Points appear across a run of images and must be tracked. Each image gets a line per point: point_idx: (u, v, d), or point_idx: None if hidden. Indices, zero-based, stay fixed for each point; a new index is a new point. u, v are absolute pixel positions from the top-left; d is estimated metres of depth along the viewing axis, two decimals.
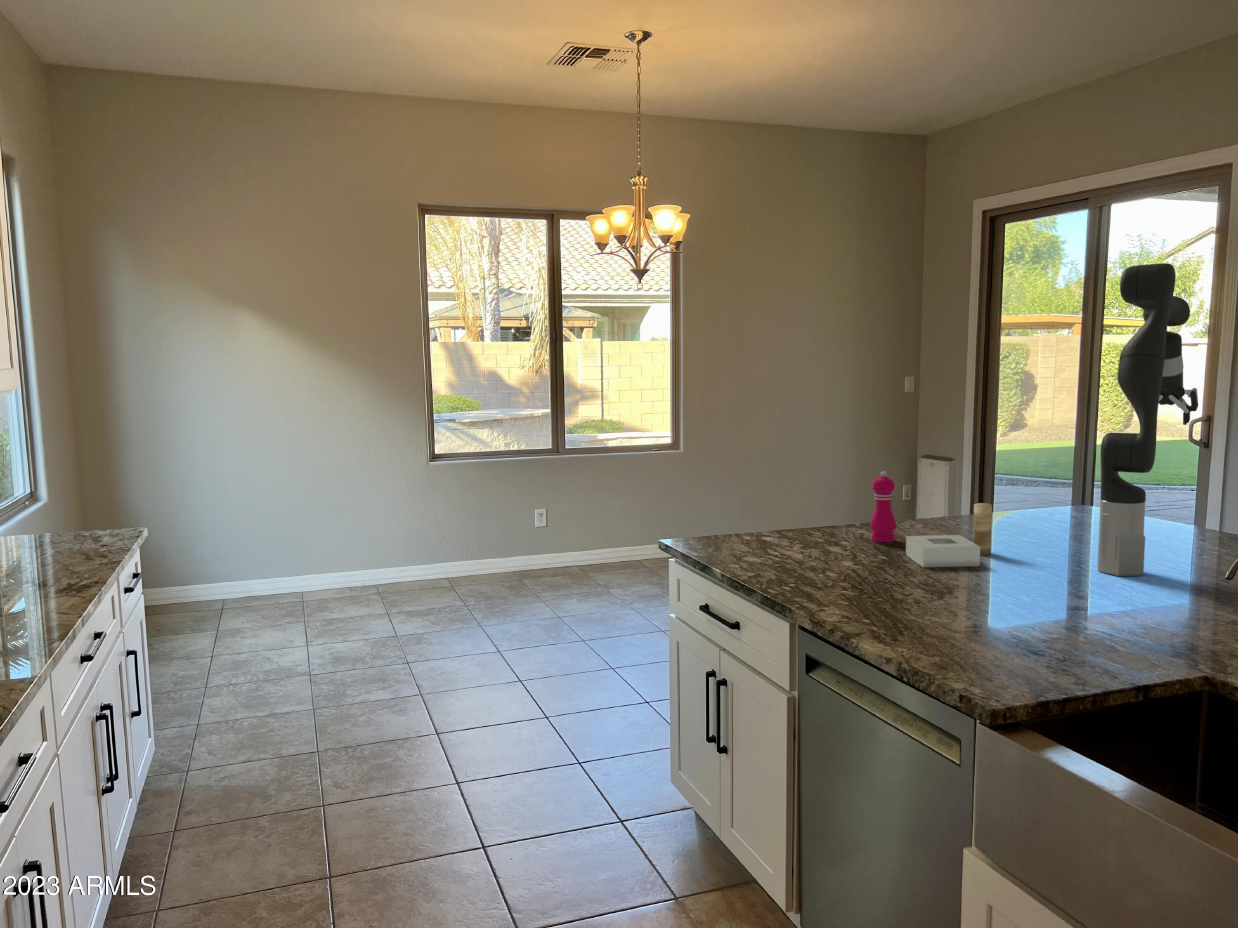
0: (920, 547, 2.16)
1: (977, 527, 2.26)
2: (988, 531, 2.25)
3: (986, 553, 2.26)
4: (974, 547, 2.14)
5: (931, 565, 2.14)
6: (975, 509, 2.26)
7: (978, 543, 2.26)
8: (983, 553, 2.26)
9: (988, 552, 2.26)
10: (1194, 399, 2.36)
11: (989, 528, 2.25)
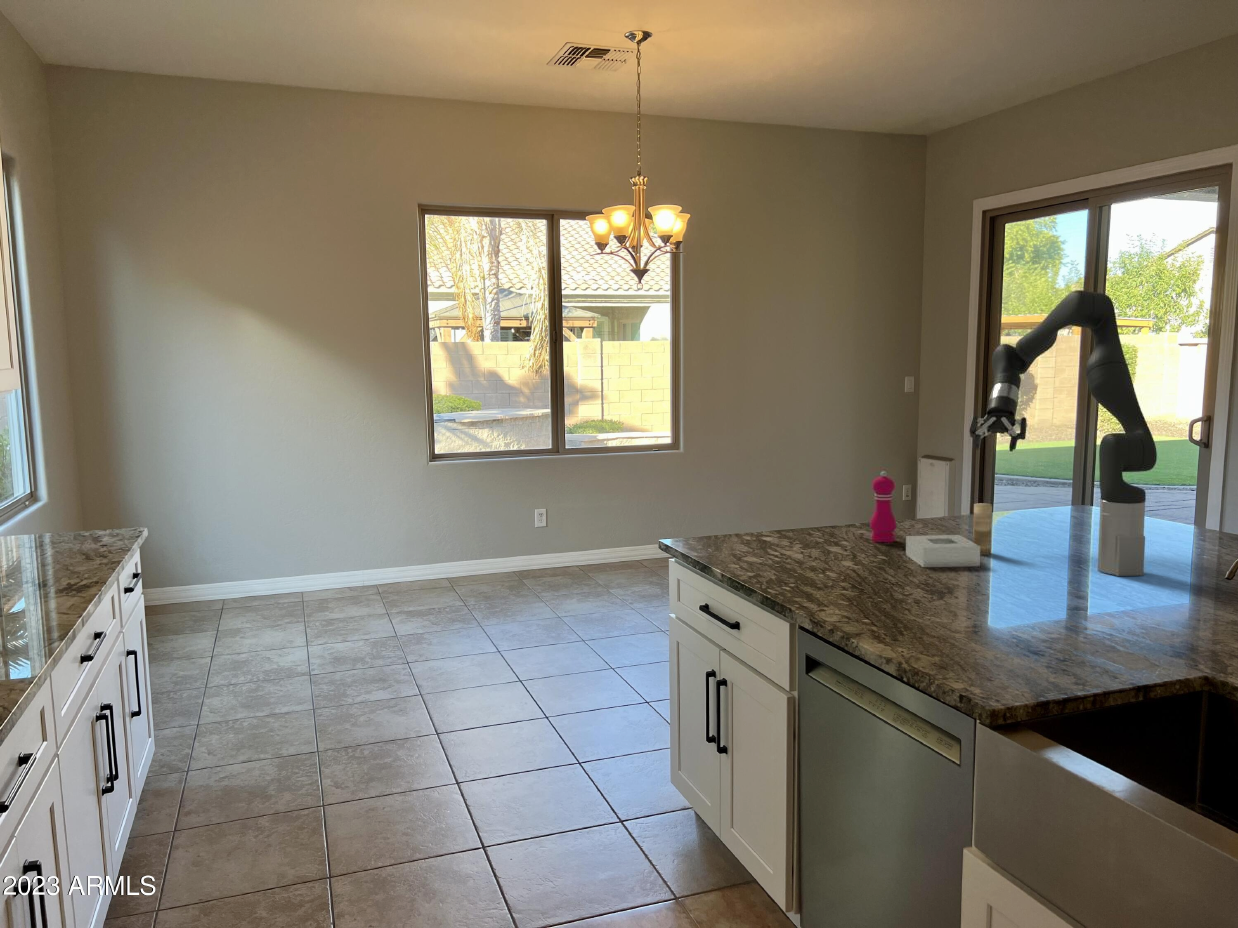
0: (920, 547, 2.16)
1: (977, 527, 2.26)
2: (988, 531, 2.25)
3: (986, 553, 2.26)
4: (974, 547, 2.14)
5: (931, 565, 2.14)
6: (975, 509, 2.26)
7: (978, 543, 2.26)
8: (983, 553, 2.26)
9: (988, 552, 2.26)
10: (1024, 424, 2.35)
11: (989, 528, 2.25)
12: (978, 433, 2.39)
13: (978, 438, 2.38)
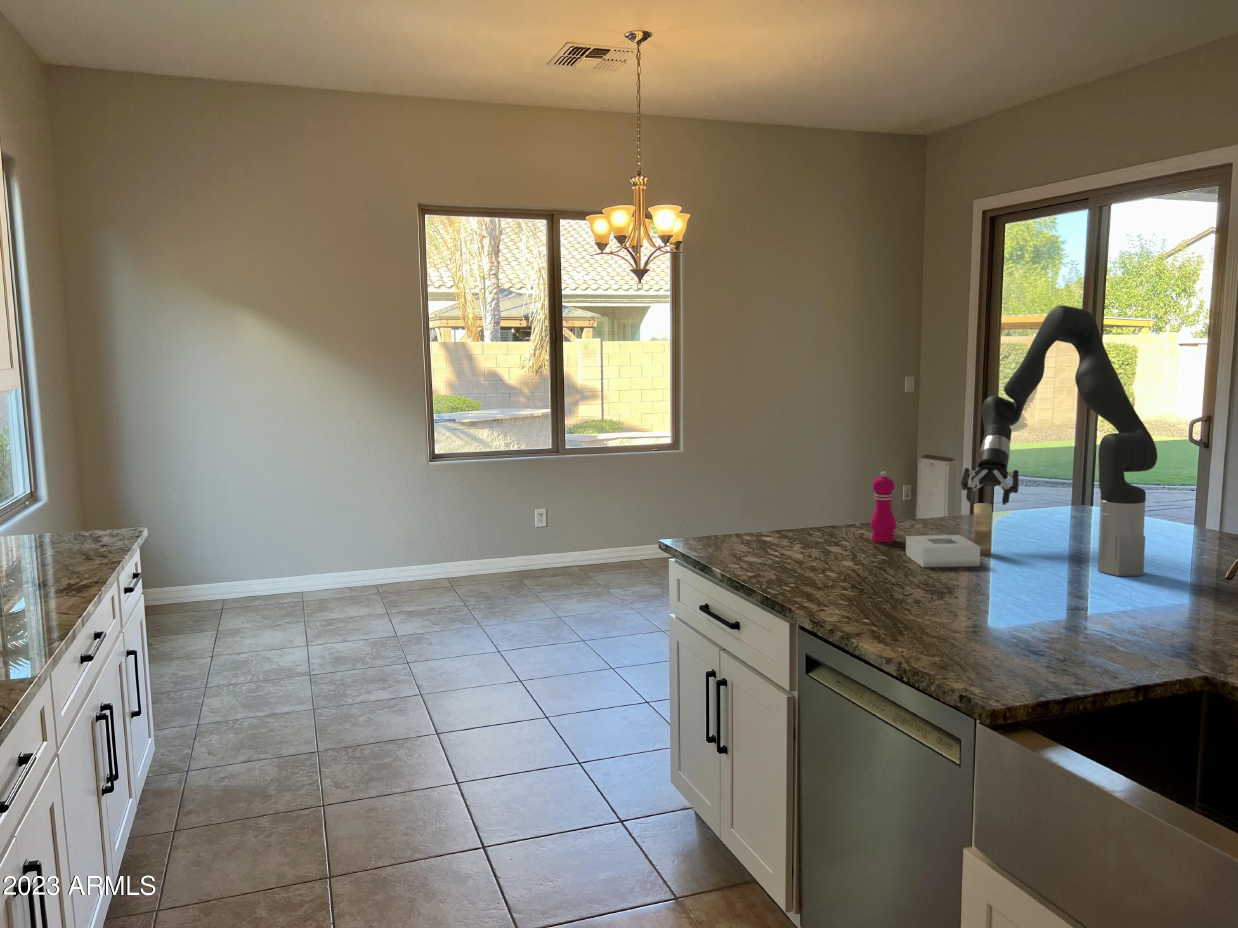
0: (920, 547, 2.16)
1: (977, 527, 2.26)
2: (988, 531, 2.25)
3: (986, 553, 2.26)
4: (974, 547, 2.14)
5: (931, 565, 2.14)
6: (975, 509, 2.26)
7: (978, 543, 2.26)
8: (983, 553, 2.26)
9: (988, 552, 2.26)
10: (1016, 477, 2.31)
11: (989, 528, 2.25)
12: (970, 486, 2.35)
13: (970, 491, 2.34)
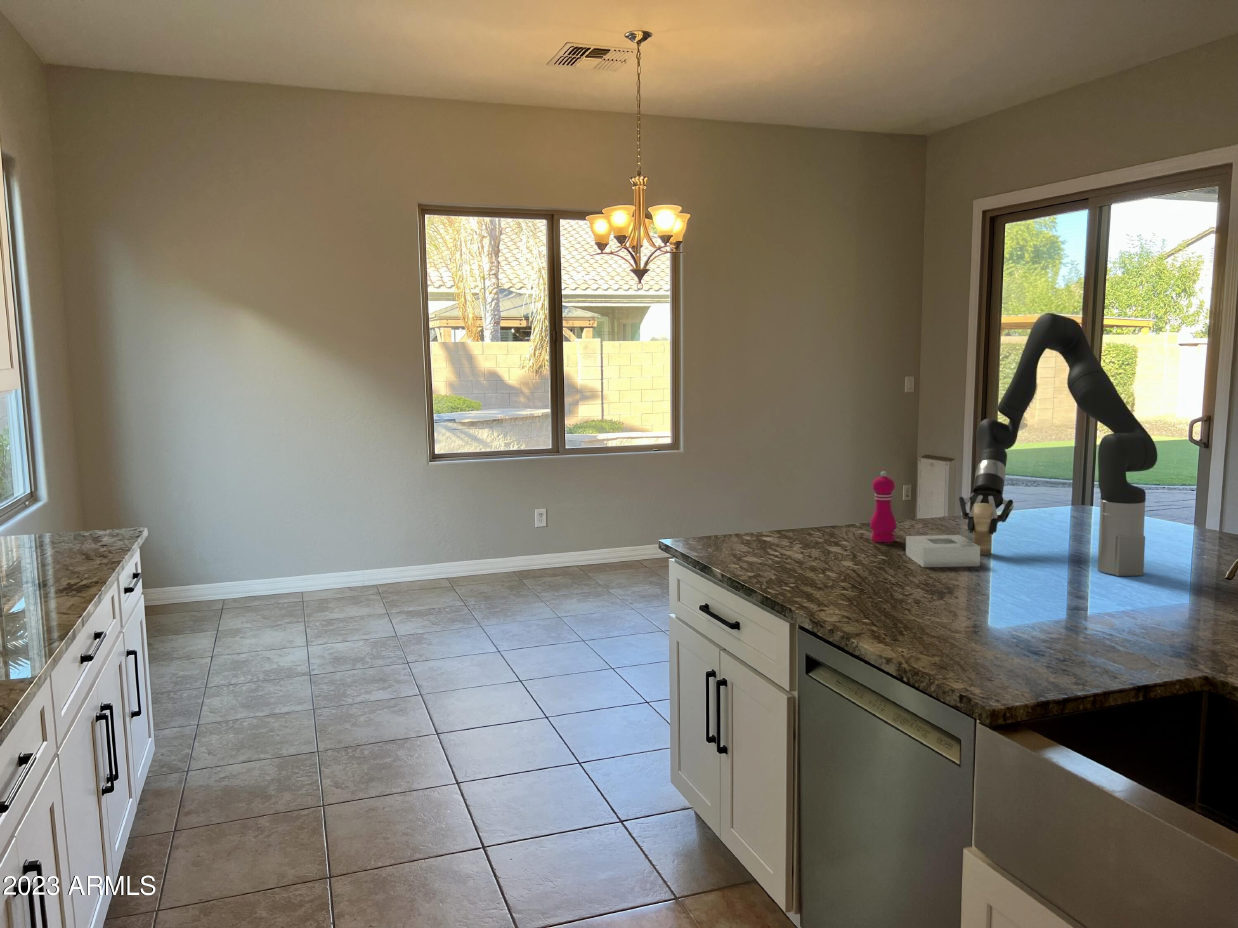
0: (920, 547, 2.16)
1: (977, 527, 2.26)
2: (988, 531, 2.25)
3: (986, 553, 2.26)
4: (974, 547, 2.14)
5: (931, 565, 2.14)
6: (975, 509, 2.26)
7: (978, 543, 2.26)
8: (983, 553, 2.26)
9: (988, 552, 2.26)
10: (1008, 506, 2.25)
11: (989, 528, 2.25)
12: (972, 515, 2.28)
13: (971, 521, 2.27)
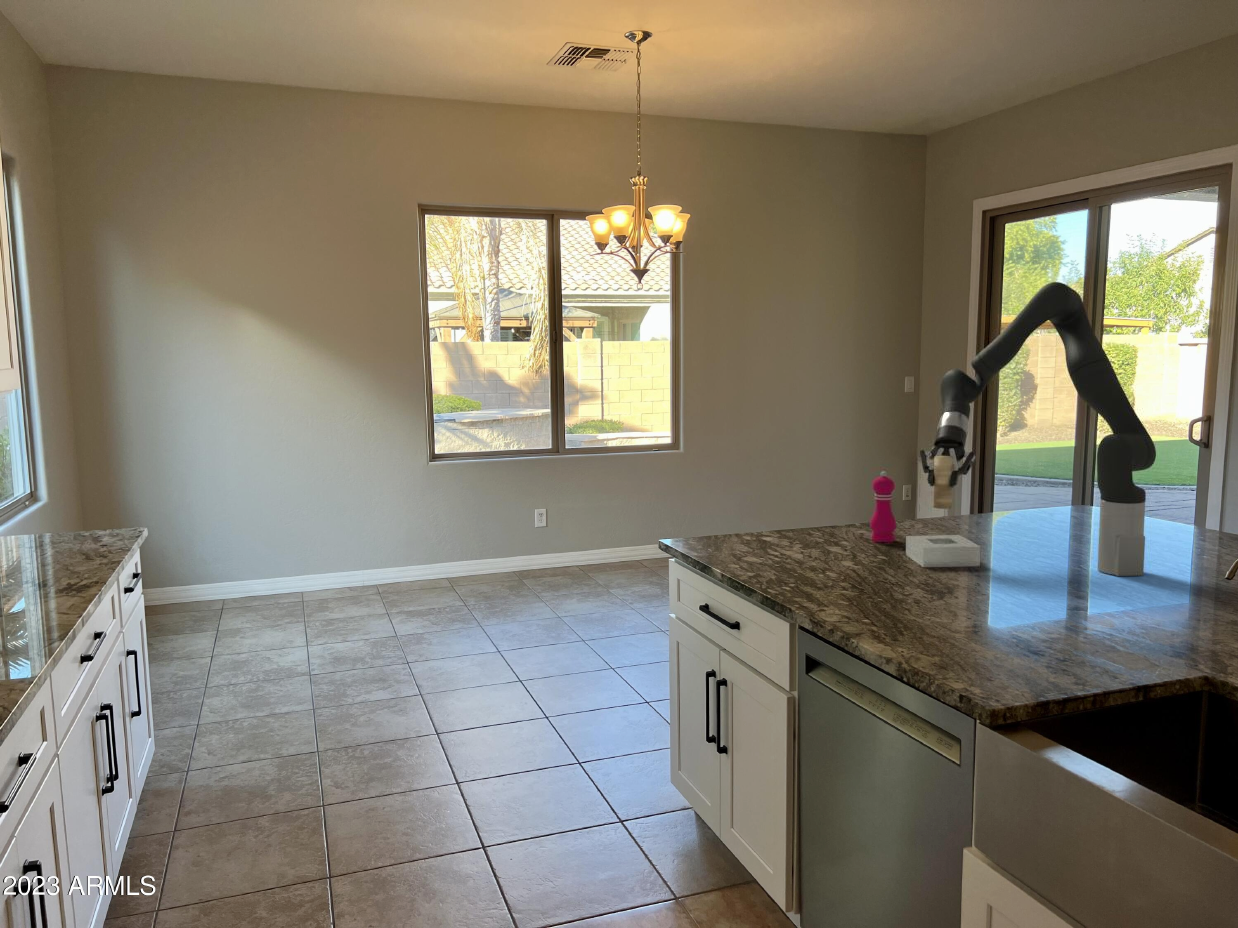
0: (920, 547, 2.16)
1: (937, 480, 2.18)
2: (949, 484, 2.17)
3: (947, 507, 2.17)
4: (974, 547, 2.14)
5: (931, 565, 2.14)
6: (935, 461, 2.18)
7: (938, 497, 2.18)
8: (943, 507, 2.17)
9: (949, 506, 2.18)
10: (969, 458, 2.17)
11: None
12: (932, 468, 2.20)
13: (932, 474, 2.19)
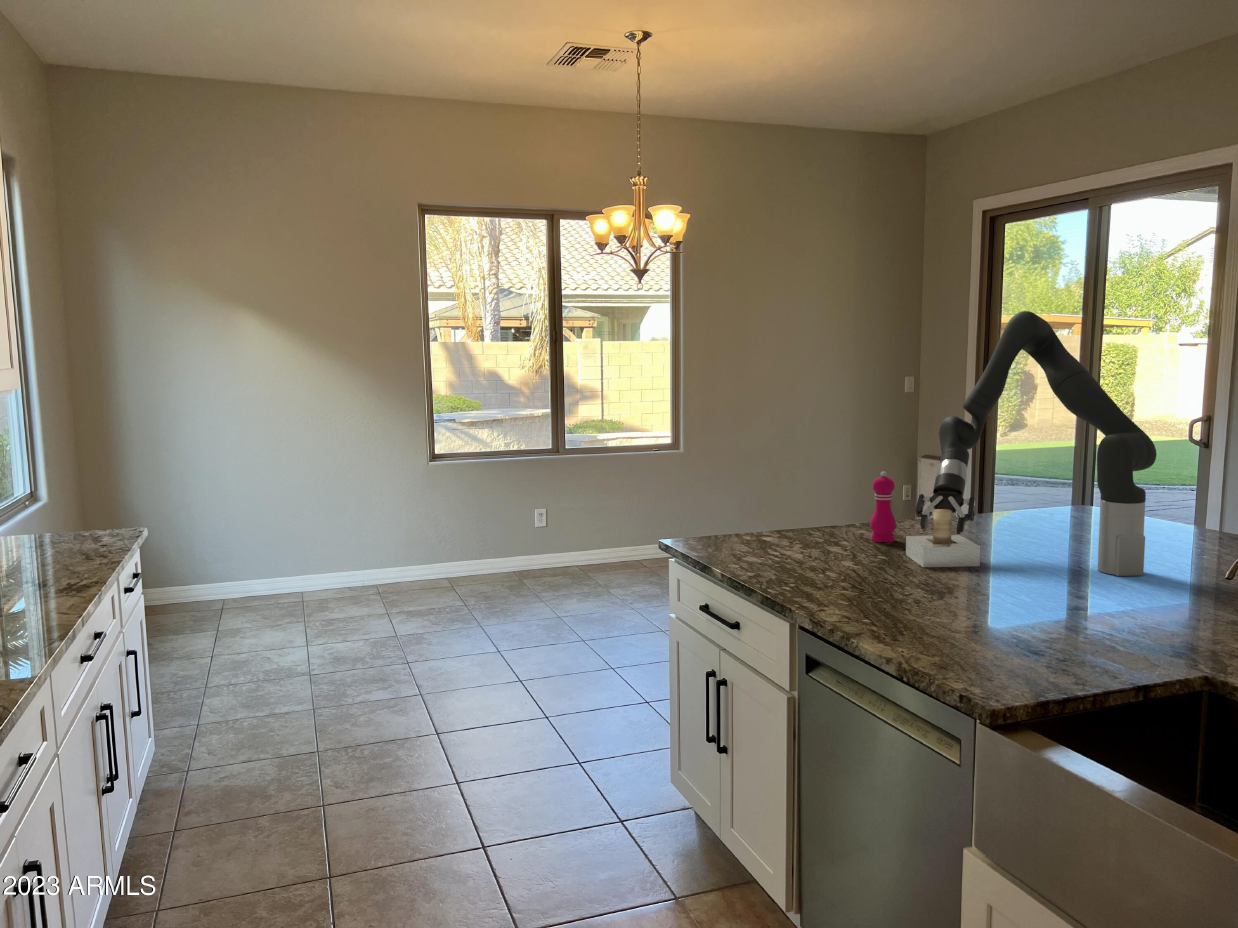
0: (920, 547, 2.16)
1: (936, 534, 2.19)
2: (948, 538, 2.19)
3: None
4: (974, 547, 2.14)
5: (931, 565, 2.14)
6: (934, 515, 2.19)
7: None
8: None
9: None
10: (972, 504, 2.19)
11: (949, 535, 2.19)
12: (924, 513, 2.23)
13: (924, 519, 2.22)
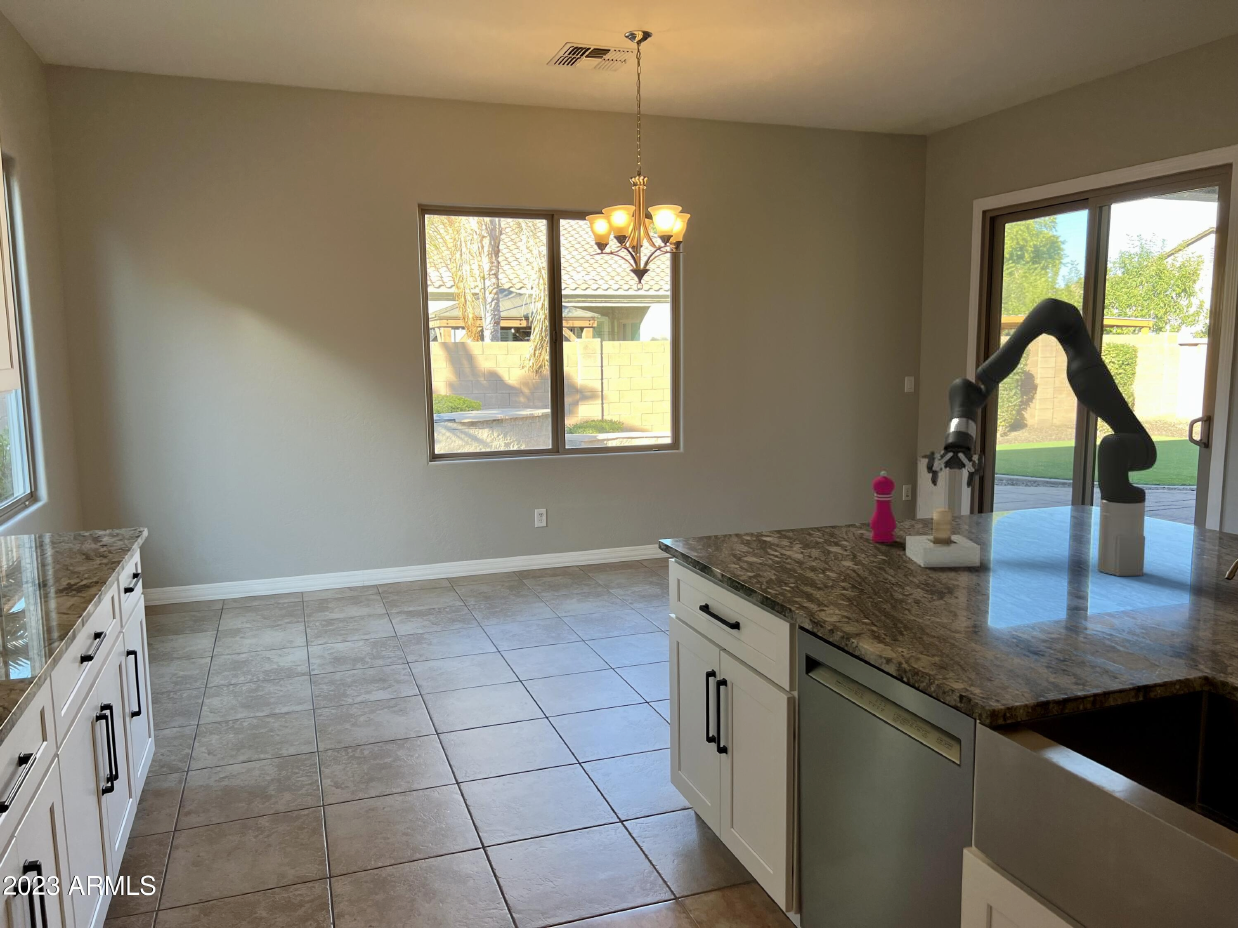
0: (920, 547, 2.16)
1: (936, 534, 2.19)
2: (948, 538, 2.19)
3: None
4: (974, 547, 2.14)
5: (931, 565, 2.14)
6: (934, 515, 2.19)
7: None
8: None
9: None
10: (981, 459, 2.29)
11: (949, 535, 2.18)
12: (935, 469, 2.32)
13: (935, 474, 2.32)
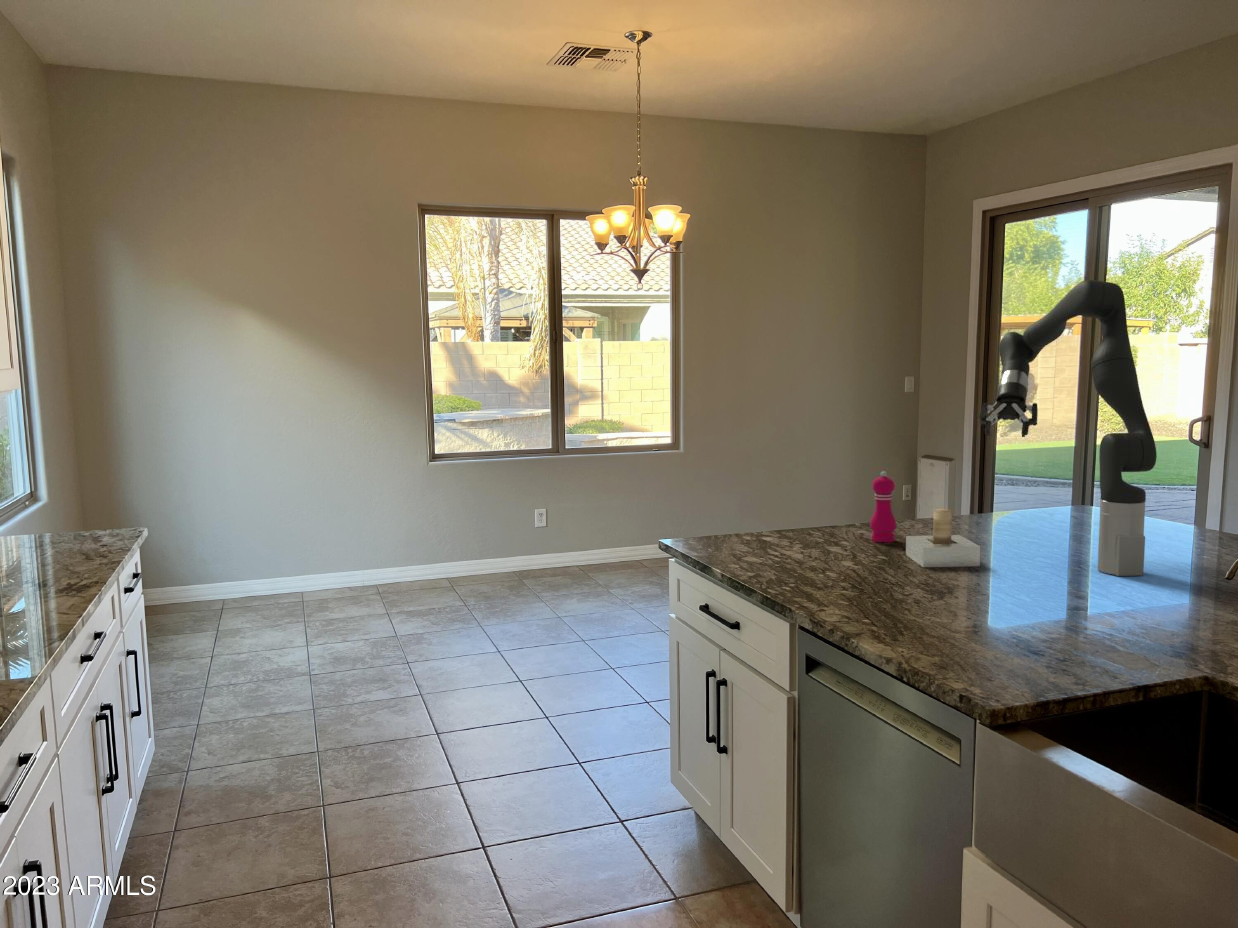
0: (920, 547, 2.16)
1: (936, 534, 2.19)
2: (948, 538, 2.19)
3: None
4: (974, 547, 2.14)
5: (931, 565, 2.14)
6: (934, 515, 2.19)
7: None
8: None
9: None
10: (1035, 409, 2.30)
11: (949, 535, 2.18)
12: (989, 419, 2.34)
13: (989, 424, 2.33)
